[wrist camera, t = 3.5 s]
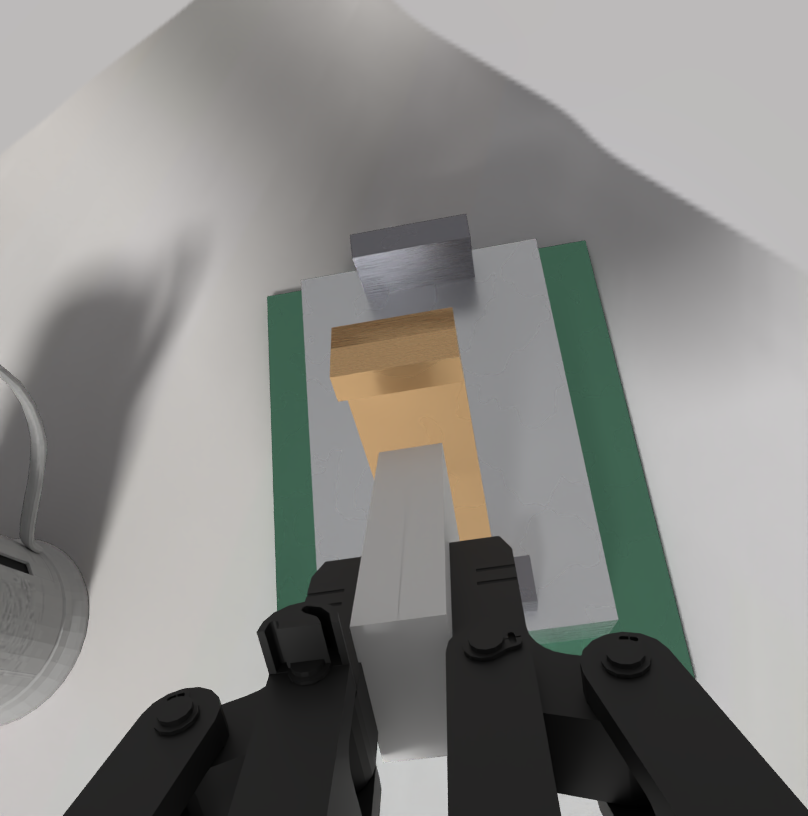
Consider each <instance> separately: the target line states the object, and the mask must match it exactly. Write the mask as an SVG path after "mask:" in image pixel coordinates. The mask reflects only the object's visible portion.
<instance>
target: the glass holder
mask: <svg viewBox="0 0 808 816" xmlns="http://www.w3.org/2000/svg"><path fill="white" fill-rule="evenodd" d="M0 378H1V379H2V380H3V381H5V382H6V383H7V384H8V385H9V387H10V388H11V390H12V391H13V393H14V394H15V395H16V397H17V398H18V400H19V401H20V403H21V406H22V409H23V411H24V414H25V417H26V420H27V423H28V428H29V433H30V437H31V456H30V467H29V475H28V482H27V487H26V492H25V497H24V503H23V508H22V514H21V522H20V538H18V539H11V538H8V537H6V536H3V535H1V534H0V726H1V725H5V724H8V723H10V722H13V721H15V720H18V719H20V718H22V717H24V716H25V715H27V714H29V713H30V712H32V711H33V710H35V709H37V708H38V707H39V706H40V705H41V704H42V703H44V702H45V701H46V700H47V699H48V698H50V697H51V695H52V694H53V693H54V692H55V691H56V690H57V689H58V688H59V686H60V685H61V684H62V683H63V682H64V680H65V679H66V677H67V676H68V674H69V672H70V671H71V669H72V668H73V666H74V664H75V662H76V660H77V658H78V656H79V653H80V651H81V648H82V645H83V642H84V639H85V636H86V630H87V624H88V618H89V608H88V596H87V590H86V586H85V583H84V580H83V578H82V575H81V573H80V571H79V570H78V568H77V566H76V565H75V563H74V562H73V561H72V560H71V559H70V558H69V557H68V556H67V555H66V554H65V552H63V551H62V550H60V549H59V548H57V547H55V546H54V545H52V544H49V543H46V542H44V541H41V540H35V539H34V534H35V525H36V519H37V513H38V508H39V502H40V497H41V492H42V487H43V479H44V471H45V464H46V456H47V439H46V435H45V431H44V426H43V423H42V420H41V418H40V415H39V412H38V410H37V407H36V404H35V402H34V401H33V399H32V398H31V396H30V395H29V393H28V392H27V391H26V389H25V388H24V386H23V385H22V383H21V382H20V381H19V380H18V379H17V378H16V377H14V376H13V375H12V374H11V373H10V372H8V371H7V370H6V369H5V368H4V367H2V366H1V365H0Z"/></svg>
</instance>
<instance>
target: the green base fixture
mask: <svg viewBox="0 0 808 816" xmlns="http://www.w3.org/2000/svg"><path fill="white" fill-rule="evenodd" d="M350 239H351V251H352V259H353V262H354V264H355V267H356V271H350V272H344V273H339V274H333V275H327V276H322V277H316V278H311V279H305V280H301V290H302V291H296V292H290V293H285V294H279V295H273V296H268V297H267V306H268V337H269V369H270V400H271V431H272V463H273V494H274V525H275V557H276V588H277V611H279V610H281V609H283V608H285V607H287V606H289V605H293V604H297V603H301V602H305V599H306V597H307V592H308V588H309V584H310V581H311V577H312V576H313V575H314V574H315V573H316V572H317V570H318V569H319V568H320V567H321V566H322V565H323V564H324V563H325V562H326V561H333V560H341V559H348V558H355V557H361V556H362V550H363V544H364V538H365V532H366V526H367V520H368V514H369V508H370V502H371V496H372V490H373V485H374V478H373V475H372V472H371V469H370V466H369V463H368V460H367V457H366V454H365V451H364V448H363V445H362V442H361V439H360V436H359V433H358V430H357V427H356V424H355V421H354V418H353V415H352V412H351V409H350V406H349V403H348V400H346V401H340V402H338V400H337V397H336V395H335V392H334V389H333V386H332V383H331V380H330V354H331V328H333V327H338V326H344V325H350V324H356V323H362V322H368V321H374V320H379V319H385V318H391V317H397V316H403V315H409V314H414V313H420V312H426V311H432V310H438V309H444V308H450V307H452V308H453V314H454V320H455V326H456V331H457V337H458V343H459V349H460V355H461V361H462V366H463V372H464V378H465V384H466V390H467V396H468V401H469V407H470V413H471V419H472V425H473V431H474V436H475V442H476V448H477V454H478V460H479V466H480V471H481V477H482V483H483V489H484V495H485V501H486V506H487V512H488V518H489V524H490V530H491V536H492V537H493V536H500V537H501V538H502V539H503V540H504V541H505V542H506V543H507V544H508V545H509V546H510V547H512V550H513V556H514V561H515V567H516V572H517V578H518V583H519V589H520V594H521V600H522V605H523V611H524V616H525V622H526V627H527V629H528V632H529V634H530V636H531V637H532V638H533V639H534V640H535V641H536V642H537V643H539V644H540V645H542V646H543V647H545V648H547V649H550V650H553V651H555V652H560V653H565V654H572V655H582V651H583V649H584V648H585V647H586V646H587V645H588V644H589V643H590V642H591V641H592V640H594V639H597V638H599V637H601V636H603V635H605V634H611V633H617V632H632V633H641V634H644V635H647V636H650V637H652V638H655V639H657V640H658V641H660V642H661V643H662V644H664V645H665V646H666V647H667V648H669V649H670V651H671V652H672V653H673V654H674V655H675V656H676V658H677V659H678V660H679V661H680V662H681V663H682V665H683V666H684V667H685V668H686V669H687V670H688V671H689V673H690V674H691V675H692V676H693V677H694V674H693V670H692V666H691V662H690V658H689V654H688V650H687V646H686V642H685V638H684V634H683V630H682V626H681V622H680V618H679V614H678V610H677V606H676V602H675V598H674V594H673V590H672V586H671V582H670V578H669V574H668V570H667V566H666V562H665V558H664V554H663V550H662V546H661V542H660V538H659V534H658V530H657V526H656V522H655V518H654V514H653V510H652V506H651V502H650V498H649V494H648V490H647V486H646V482H645V478H644V474H643V470H642V466H641V462H640V458H639V454H638V450H637V446H636V442H635V438H634V434H633V430H632V426H631V422H630V418H629V414H628V410H627V406H626V402H625V398H624V394H623V390H622V386H621V382H620V378H619V374H618V370H617V366H616V362H615V358H614V354H613V350H612V346H611V342H610V338H609V334H608V330H607V326H606V322H605V318H604V314H603V310H602V306H601V302H600V298H599V294H598V290H597V286H596V282H595V278H594V274H593V270H592V266H591V262H590V258H589V254H588V250H587V246H586V242H585V241H579V242H573V243H568V244H562V245H556V246H551V247H545V248H539V249H538V246H537V241H536V238H535V239H530V240H524V241H518V242H513V243H507V244H502V245H496V246H490V247H485V248H479V249H473V250H472V249H471V240H470V234H469V228H468V222H467V216H466V214H462V215H457V216H451V217H446V218H440V219H435V220H429V221H424V222H418V223H413V224H407V225H402V226H396V227H391V228H385V229H380V230H375V231H369V232H364V233H358V234H353V235H350Z"/></svg>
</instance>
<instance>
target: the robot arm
mask: <svg viewBox="0 0 808 816" xmlns="http://www.w3.org/2000/svg"><path fill="white" fill-rule="evenodd" d="M257 635H258V638H259V641H260V645H261V648H262V652H263V655H264V658H265V662H266V665H267V668H268V672H269V677H268V681H267V684H266V686H265V687H264V688H262V689H261V690H259V691H257V692H254V693H252V694H250V695H247V696H245V697H242V698H239V699H236V700H234V701H231V702H228V703H225V704H222V705H221V702H220V699H219V697H218V696H217V695H216V694H215V693H214V692H213V691H212V690H209V689H205V688H201V687H195V688H185V689H181V690H179V691H176V692H173V693H170V694H168V695H166V696H164V697H163V698H161V699H159V700H158V701H156V702H154V703H153V704H152V705H151V706H150V707H149V708H148V709H147V710H146V711H145V712H144V713H143V714H142V715H141V716H140V717H139V719H138V720H137V721H136V722H135V724H134V725H133V726H132V727H131V729H130V730H129V731H128V733H127V734H126V735H125V736H124V738H123V739H122V740H121V742H120V743H119V744H118V745H117V747H116V748H115V749H114V751H113V752H112V753H111V754H110V756H109V757H108V758H107V760H106V761H105V762H104V763H103V765H102V766H101V767H100V769H99V770H98V771H97V772H96V774H95V775H94V776H93V778H92V779H91V780H90V781H89V783H88V784H87V785H86V787H85V788H84V789H83V790H82V792H81V793H80V794H79V796H78V797H77V798H76V799H75V801H74V802H73V803H72V805H71V806H70V807H69V808H68V810H67V811H66V812H65V814H64V815H63V816H379V814H380V801H381V785H380V779H379V774H378V770H377V766H376V753H377V742H378V744H379V748H380V752H381V756H382V760H383V763H387V762H396V761H405V760H414V759H423V758H432V757H441V756H447V767H448V816H561V812H560V807H559V801H558V795H557V793H561V794H566V795H571V796H577V797H582V798H588V799H593V800H597V801H598V804H599V808H600V811H601V813H602V815H603V816H808V809H807V808H806V807H805V806H804V805H803V804H802V802H801V801H800V800H799V799H798V798H797V797H796V795H795V794H794V793H793V792H792V791H791V790H790V788H789V787H788V786H787V785H786V784H785V783H784V782H783V780H782V779H781V778H780V777H779V776H778V775H777V773H776V772H775V771H774V770H773V769H772V768H771V766H770V765H769V764H768V763H767V762H766V761H765V759H764V758H763V757H762V756H761V755H760V754H759V753H758V751H757V750H756V749H755V748H754V747H753V746H752V744H751V743H750V742H749V741H748V740H747V739H746V737H745V736H744V735H743V734H742V733H741V732H740V731H739V729H738V728H737V727H736V726H735V725H734V724H733V722H732V721H731V720H730V719H729V718H728V717H727V715H726V714H725V713H724V712H723V711H722V710H721V709H720V707H719V706H718V705H717V704H716V703H715V702H714V700H713V699H712V698H711V697H710V696H709V695H708V693H707V692H706V691H705V690H704V689H703V688H702V687H701V685H700V684H699V683H698V682H697V681H696V680H695V678H694V677H693V676H692V675H691V674H690V673H689V671H688V670H687V669H686V668H685V667H684V666H683V665H682V663H681V662H680V661H679V660H678V659H677V658H676V656H675V655H674V654H673V653H672V652H671V651H670V649H669V648H667V647H666V646H665V645H664V644H662V643H661V642H660V641H658V640H657V639H655V638H652V637H650V636H647V635H644V634H641V633H632V632H617V633H611V634H605V635H603V636H601V637H599V638H597V639H594V640H592V641H591V642H590V643H589V644H588V645H587V646H586V647H585V648H584V649H583V651H582V655H572V654H565V653H560V652H555V651H553V650H550V649H547V648H545V647H543V646H542V645H540V644H539V643H537V642H536V641H535V640H534V639H533V638H532V637H531V636H530V634H529V632H528V629H527V627H526V622H525V616H524V611H523V605H522V600H521V594H520V589H519V583H518V578H517V572H516V567H515V561H514V556H513V550H512V547H510V546H509V545H508V544H507V543H506V542H505V541H504V540H503V539H502V538H501V537H500V536H493V537H486V538H479V539H472V540H464V541H460V540H459V534H458V529H457V523H456V518H455V512H454V506H453V501H452V495H451V489H450V484H449V478H448V473H447V467H446V461H445V456H444V450H443V445H442V443H438V444H431V445H425V446H418V447H412V448H405V449H398V450H392V451H385V452H379V455H378V461H377V467H376V473H375V479H374V485H373V490H372V496H371V502H370V508H369V514H368V520H367V526H366V532H365V538H364V544H363V550H362V556H361V557H355V558H348V559H341V560H333V561H326V562H325V563H324V564H323V565H322V566H321V567H320V568H319V569H318V570H317V572H316V573H315V574H314V575H313V576H312V577H311V581H310V584H309V588H308V592H307V597H306V599H305V602H301V603H297V604H293V605H289V606H287V607H285V608H283V609H281V610H279V611H277V612H274V613H273V614H272V615H271V616H270V617H268V618H267V619H266V620H265V621H264V622H263V623H262V624H261V626H260V628H259V629H258V631H257Z"/></svg>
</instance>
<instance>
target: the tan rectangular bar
mask: <svg viewBox="0 0 808 816" xmlns="http://www.w3.org/2000/svg"><path fill="white" fill-rule="evenodd" d="M330 380H331V383H332V386H333V389H334V392H335V395H336V397H337V400H338V402H340V401H346V400H348V403H349V406H350V409H351V412H352V415H353V418H354V421H355V424H356V427H357V430H358V433H359V436H360V439H361V442H362V445H363V448H364V451H365V454H366V457H367V460H368V463H369V466H370V469H371V472H372V475H373V478H374V479H375V473H376V467H377V461H378V455H379V452H385V451H392V450H398V449H405V448H412V447H418V446H425V445H431V444H438V443H442V445H443V450H444V456H445V461H446V467H447V473H448V478H449V484H450V489H451V495H452V501H453V506H454V512H455V518H456V523H457V529H458V534H459V540H460V541H464V540H472V539H479V538H486V537H492V536H491V530H490V524H489V518H488V512H487V506H486V501H485V495H484V489H483V483H482V477H481V471H480V466H479V460H478V454H477V448H476V442H475V436H474V431H473V425H472V419H471V413H470V407H469V401H468V396H467V390H466V384H465V378H464V372H463V366H462V361H461V355H460V349H459V343H458V337H457V331H456V326H455V320H454V314H453V308H452V307H450V308H444V309H438V310H432V311H426V312H420V313H414V314H409V315H403V316H397V317H391V318H385V319H379V320H374V321H368V322H362V323H356V324H350V325H344V326H338V327H333V328H331V354H330Z"/></svg>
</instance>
